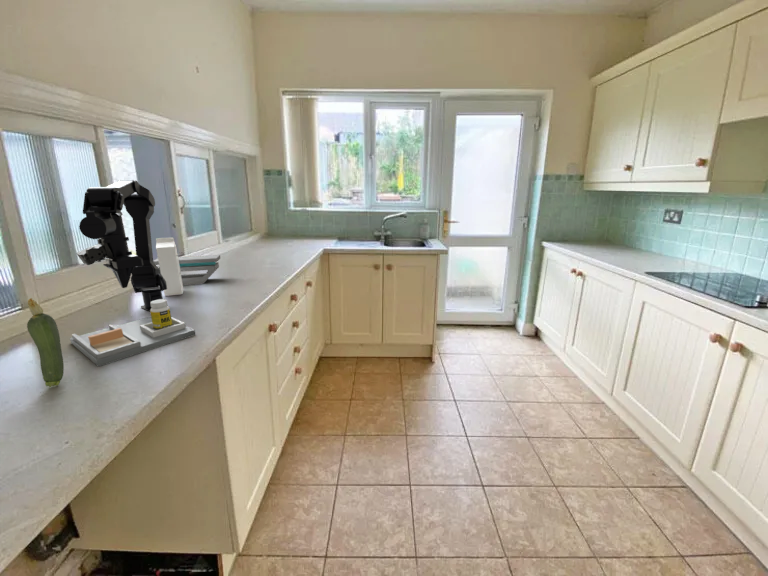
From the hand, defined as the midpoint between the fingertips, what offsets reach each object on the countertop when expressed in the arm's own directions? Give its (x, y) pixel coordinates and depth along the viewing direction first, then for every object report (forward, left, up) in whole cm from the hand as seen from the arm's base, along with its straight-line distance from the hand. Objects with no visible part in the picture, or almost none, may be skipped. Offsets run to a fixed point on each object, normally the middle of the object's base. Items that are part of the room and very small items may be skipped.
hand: (124, 287), depth 105 cm
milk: (-28, +24, -13) cm, 39 cm away
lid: (+14, -9, -11) cm, 20 cm away
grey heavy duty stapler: (-40, +36, -13) cm, 55 cm away
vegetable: (+23, -22, -13) cm, 34 cm away
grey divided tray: (+9, -3, -13) cm, 16 cm away
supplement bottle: (+12, +4, -12) cm, 17 cm away
